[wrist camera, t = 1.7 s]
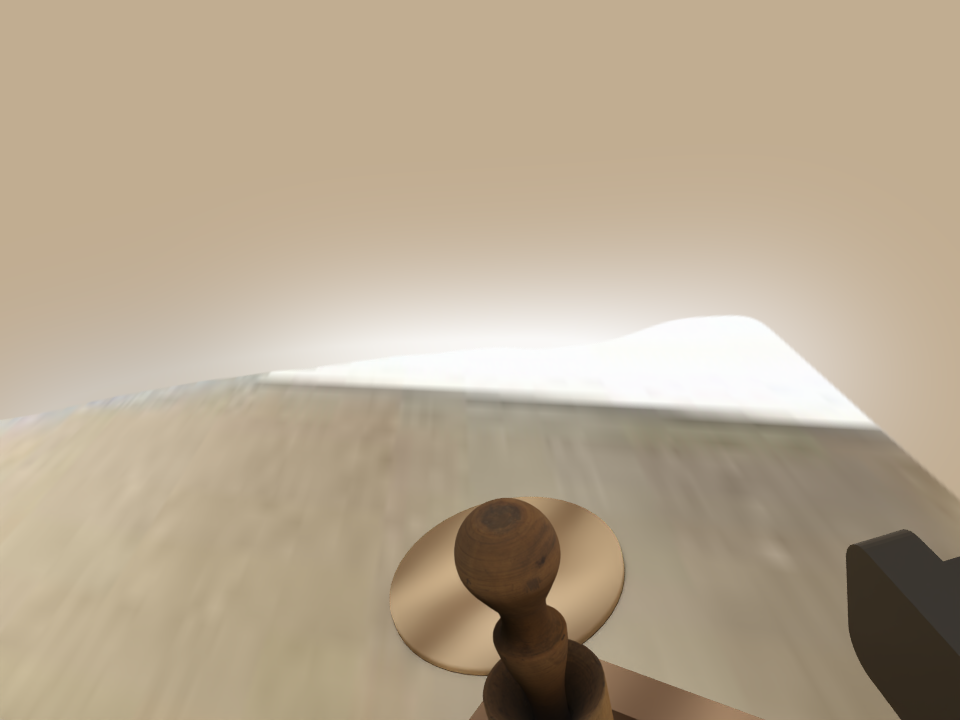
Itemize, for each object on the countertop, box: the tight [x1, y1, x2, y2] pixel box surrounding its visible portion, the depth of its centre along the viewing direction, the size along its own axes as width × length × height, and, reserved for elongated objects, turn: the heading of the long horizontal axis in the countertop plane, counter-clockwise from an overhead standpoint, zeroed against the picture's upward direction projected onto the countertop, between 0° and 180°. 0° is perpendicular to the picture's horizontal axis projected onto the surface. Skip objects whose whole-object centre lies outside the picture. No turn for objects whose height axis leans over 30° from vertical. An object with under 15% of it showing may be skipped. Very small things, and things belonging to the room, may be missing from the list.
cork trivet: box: [390, 497, 625, 675], centre depth 48 cm, size 13×13×1 cm
